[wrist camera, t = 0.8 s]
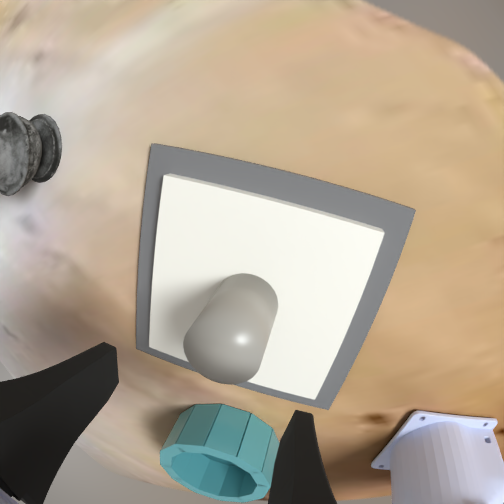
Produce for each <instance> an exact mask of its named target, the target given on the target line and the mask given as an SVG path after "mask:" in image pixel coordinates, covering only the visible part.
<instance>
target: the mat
mask: <svg viewBox="0 0 504 504" xmlns="http://www.w3.org/2000/svg"><path fill="white" fill-rule="evenodd" d="M170 173H171V174H175V175H180V176H184V177H189V178H193V179H198V180H202V181H206V182H211V183H215V184H219V185H224V186H228V187H232V188H236V189H240V190H244V191H248V192H252V193H256V194H260V195H264V196H268V197H272V198H276V199H280V200H283V201H287V202H291V203H295V204H298V205H302V206H306V207H309V208H313V209H317V210H320V211H324V212H327V213H331V214H334V215H338V216H341V217H345V218H348V219H351V220H355V221H358V222H361V223H365V224H368V225H371V226H375V227H378V228H381V229H382V230H383V231H384V236H383V239H382V242H381V245H380V248H379V251H378V254H377V256H376V259H375V262H374V265H373V267H372V270H371V273H370V276H369V278H368V281H367V283H366V286H365V289H364V291H363V294H362V296H361V299H360V301H359V304H358V306H357V309H356V311H355V314H354V316H353V318H352V321H351V323H350V326H349V328H348V330H347V333H346V335H345V337H344V339H343V342H342V344H341V346H340V348H339V351H338V353H337V355H336V357H335V359H334V362H333V364H332V366H331V368H330V370H329V372H328V374H327V376H326V378H325V381H324V383H323V385H322V387H321V389H320V391H319V393H318V395H317V397H316V399H315V400H314V399H310V398H305V397H301V396H297V395H294V394H290V393H286V392H282V391H279V390H275V389H271V388H268V387H264V386H261V385H257V384H254V383H251V382H247V381H246V382H243V383H240V384H234V385H237V386H240V387H243V388H246V389H250V390H253V391H257V392H260V393H263V394H267V395H271V396H274V397H278V398H282V399H285V400H289V401H293V402H297V403H301V404H305V405H309V406H313V407H318V408H322V409H327V410H329V408H330V406H331V405H332V403H333V401H334V399H335V397H336V395H337V394H338V392H339V390H340V388H341V386H342V384H343V382H344V381H345V379H346V377H347V375H348V373H349V371H350V369H351V367H352V365H353V363H354V361H355V359H356V357H357V355H358V353H359V351H360V349H361V347H362V345H363V343H364V340H365V338H366V336H367V334H368V332H369V330H370V328H371V325H372V323H373V321H374V319H375V316H376V314H377V312H378V310H379V307H380V305H381V303H382V300H383V298H384V296H385V293H386V291H387V288H388V286H389V283H390V281H391V278H392V276H393V273H394V271H395V268H396V265H397V263H398V260H399V258H400V255H401V252H402V249H403V247H404V244H405V241H406V238H407V235H408V232H409V229H410V227H411V224H412V221H413V217H414V214H415V211H416V210H415V209H413V208H410V207H407V206H404V205H401V204H398V203H395V202H392V201H389V200H386V199H383V198H379V197H376V196H373V195H370V194H367V193H363V192H360V191H357V190H353V189H350V188H347V187H343V186H340V185H336V184H333V183H329V182H326V181H322V180H318V179H315V178H311V177H307V176H303V175H300V174H296V173H292V172H288V171H284V170H280V169H276V168H272V167H268V166H264V165H259V164H255V163H251V162H246V161H242V160H238V159H233V158H228V157H224V156H219V155H214V154H209V153H204V152H199V151H194V150H189V149H183V148H178V147H173V146H167V145H161V144H155V143H154V144H151V151H150V158H149V165H148V172H147V180H146V188H145V197H144V206H143V216H142V226H141V238H140V251H139V267H138V286H137V318H136V349H138V350H141V351H143V352H145V353H148V354H150V355H153V356H155V357H158V358H160V359H163V360H165V361H168V362H171V363H173V364H176V365H179V366H181V367H184V368H187V369H189V370H192V371H195V372H197V371H196V370H195V369H194V368H193V367H192V366H191V364H190V363H189V362H187V361H184V360H182V359H179V358H176V357H174V356H171V355H168V354H166V353H163V352H161V351H158V350H156V349H153V348H151V347H149V332H150V310H151V293H152V278H153V266H154V254H155V243H156V234H157V224H158V216H159V207H160V199H161V191H162V184H163V177H164V175H166V174H170Z"/></svg>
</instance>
